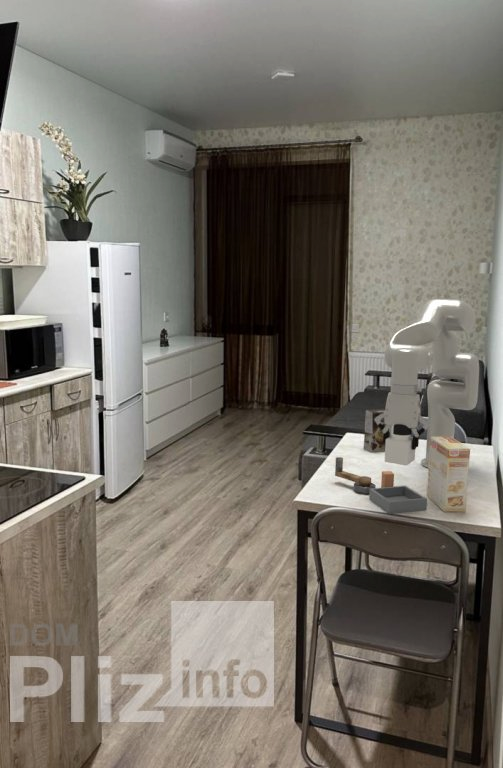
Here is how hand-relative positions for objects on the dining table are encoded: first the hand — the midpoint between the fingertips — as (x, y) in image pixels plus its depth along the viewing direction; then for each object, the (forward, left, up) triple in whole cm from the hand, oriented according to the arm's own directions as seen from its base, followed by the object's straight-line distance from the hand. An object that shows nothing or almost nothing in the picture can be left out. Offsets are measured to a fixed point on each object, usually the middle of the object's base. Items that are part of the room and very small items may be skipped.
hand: (400, 446), depth 195 cm
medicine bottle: (0, 0, -5) cm, 5 cm away
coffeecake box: (-15, +3, -18) cm, 24 cm away
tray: (0, 0, -18) cm, 18 cm away
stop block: (-2, -10, -18) cm, 21 cm away
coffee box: (-24, -58, -18) cm, 66 cm away
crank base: (+4, -14, -18) cm, 23 cm away
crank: (+6, -19, -16) cm, 25 cm away
